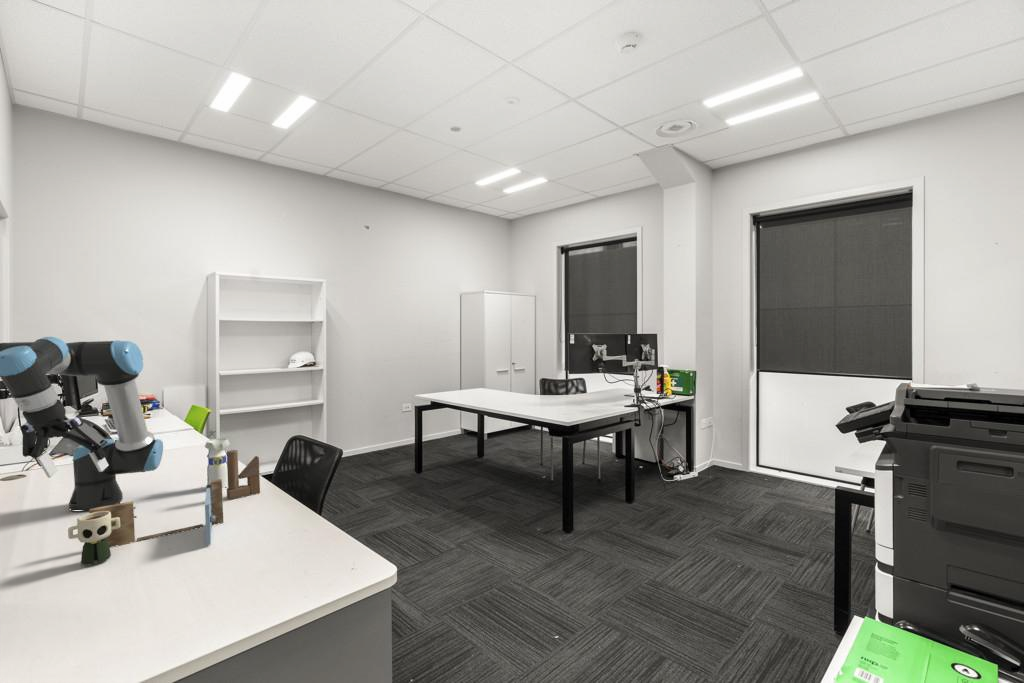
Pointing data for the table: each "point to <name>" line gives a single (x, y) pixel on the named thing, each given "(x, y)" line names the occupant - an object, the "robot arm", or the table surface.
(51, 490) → the table surface
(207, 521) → the door
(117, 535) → the door frame
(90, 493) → the robot arm
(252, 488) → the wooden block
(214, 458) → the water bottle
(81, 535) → the character mug
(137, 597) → the table surface
